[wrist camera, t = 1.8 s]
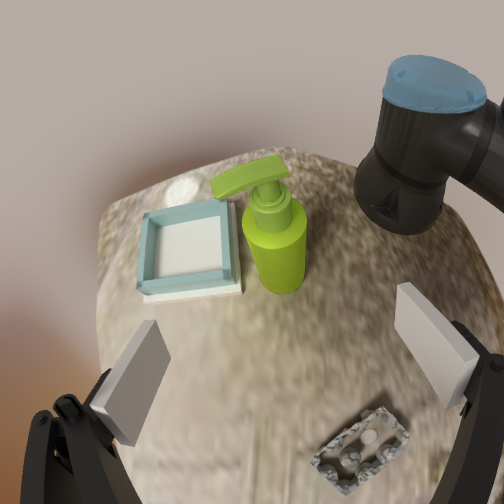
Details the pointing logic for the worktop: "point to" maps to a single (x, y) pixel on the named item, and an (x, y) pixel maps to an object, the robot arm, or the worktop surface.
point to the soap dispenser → (269, 221)
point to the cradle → (189, 253)
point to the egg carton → (352, 457)
